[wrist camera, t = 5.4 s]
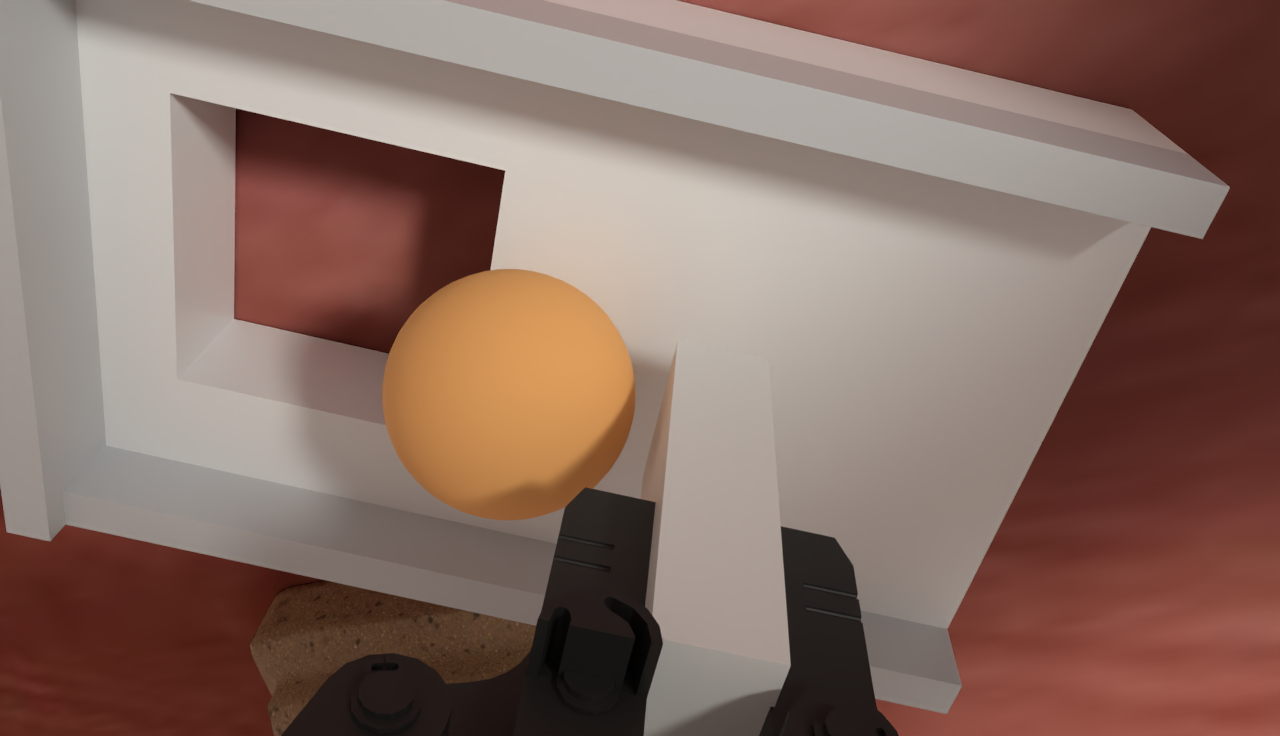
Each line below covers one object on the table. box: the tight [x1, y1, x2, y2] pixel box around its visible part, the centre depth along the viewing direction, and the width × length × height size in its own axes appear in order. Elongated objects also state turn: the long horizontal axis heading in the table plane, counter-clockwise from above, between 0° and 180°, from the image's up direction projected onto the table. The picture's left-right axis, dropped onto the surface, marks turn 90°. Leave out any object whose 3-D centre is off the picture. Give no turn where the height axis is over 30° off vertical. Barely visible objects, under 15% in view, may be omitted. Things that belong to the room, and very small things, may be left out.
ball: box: [382, 269, 635, 520], centre depth 16 cm, size 4×4×4 cm
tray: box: [0, 0, 1230, 714], centre depth 18 cm, size 11×18×4 cm, turn 78°
